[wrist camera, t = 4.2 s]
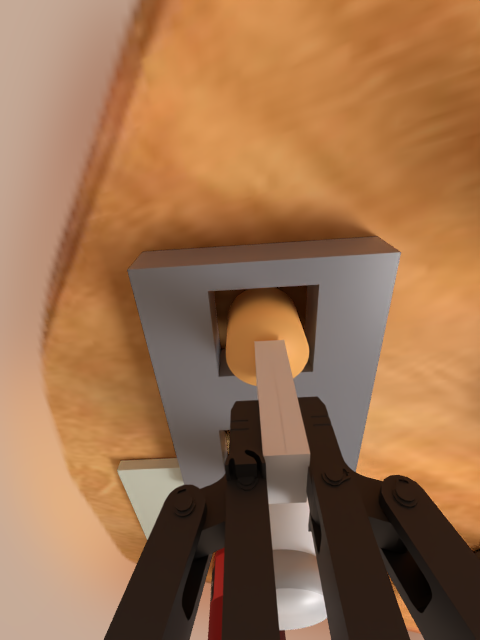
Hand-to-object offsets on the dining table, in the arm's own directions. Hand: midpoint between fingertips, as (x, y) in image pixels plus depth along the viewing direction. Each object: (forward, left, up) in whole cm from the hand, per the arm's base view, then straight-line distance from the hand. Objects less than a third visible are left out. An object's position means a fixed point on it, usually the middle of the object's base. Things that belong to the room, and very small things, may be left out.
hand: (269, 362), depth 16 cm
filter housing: (-6, 0, -5) cm, 8 cm away
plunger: (0, 0, -4) cm, 4 cm away
